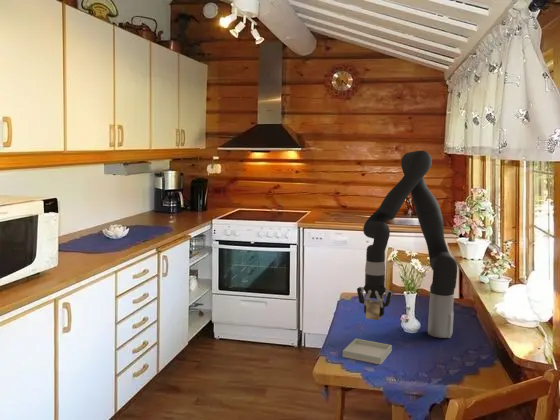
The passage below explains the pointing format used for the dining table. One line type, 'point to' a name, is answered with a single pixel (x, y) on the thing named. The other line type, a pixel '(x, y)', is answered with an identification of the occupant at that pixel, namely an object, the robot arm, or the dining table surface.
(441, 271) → the robot arm
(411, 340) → the dining table surface
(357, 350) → the dish
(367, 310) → the birch block
